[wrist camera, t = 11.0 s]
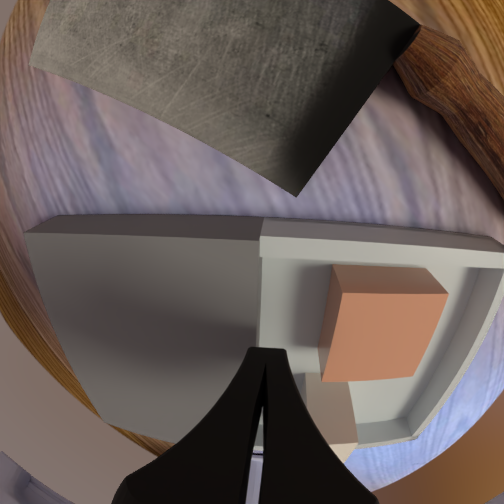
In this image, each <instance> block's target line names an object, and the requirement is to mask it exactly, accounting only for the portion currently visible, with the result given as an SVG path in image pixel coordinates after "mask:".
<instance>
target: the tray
mask: <svg viewBox="0 0 504 504" xmlns="http://www.w3.org/2000/svg"><path fill="white" fill-rule="evenodd" d="M260 257H262V286H261V313H260V339H259V347H266V348H284V349H285V350H286V351H287V356H288V361H289V365H290V368H291V371H292V374H293V377H294V380H295V383H296V385H297V388H298V390H299V393H300V394H301V390H302V385H303V381H304V377H305V373H320V365H319V357H318V349H317V347H318V343H319V338H320V333H321V328H322V323H323V317H324V312H325V306H326V301H327V295H328V289H329V282H330V276H331V269H332V264H342V265H363V266H385V267H409V268H426V269H427V270H428V271H429V272H430V273H431V274H432V275H433V276H434V277H435V278H436V280H437V281H438V282H439V283H440V284H441V285H442V286H443V287H444V288H445V290H446V291H447V292H448V293H449V295H448V298H447V301H446V304H445V306H444V309H443V312H442V314H441V317H440V319H439V322H438V324H437V327H436V329H435V331H434V334H433V336H432V338H431V341H430V343H429V345H428V347H427V349H426V351H425V353H424V356H423V358H422V360H421V362H420V364H419V366H418V368H417V369H416V371H415V373H414V375H413V376H412V377H403V378H394V379H382V380H369V381H349V382H348V384H349V389H350V394H351V399H352V405H353V410H354V416H355V422H356V428H357V434H358V441H359V443H358V444H357V446H356V447H355V449H361V448H370V447H377V446H384V445H390V444H396V443H401V442H406V441H411V440H415V439H416V438H417V437H418V436H419V435H420V434H421V433H422V432H423V430H424V429H425V428H426V427H427V426H428V424H429V423H430V422H431V421H432V419H433V418H434V417H435V415H436V414H437V413H438V412H439V410H440V409H441V408H442V406H443V405H444V403H445V402H446V401H447V399H448V398H449V396H450V395H451V394H452V392H453V391H454V389H455V388H456V386H457V385H458V383H459V382H460V380H461V378H462V377H463V375H464V374H465V372H466V370H467V369H468V367H469V365H470V364H471V362H472V360H473V358H474V357H475V355H476V353H477V351H478V349H479V348H480V346H481V344H482V342H483V340H484V338H485V336H486V334H487V332H488V330H489V328H490V326H491V323H492V321H493V319H494V317H495V315H496V312H497V310H498V308H499V305H500V303H501V300H502V298H503V295H504V245H503V244H501V243H500V242H498V241H497V240H495V239H494V238H492V237H488V236H480V235H473V234H465V233H456V232H448V231H439V230H430V229H421V228H411V227H401V226H390V225H378V224H367V223H354V222H340V221H326V220H310V219H293V218H273V217H264V221H263V225H262V229H261V234H260ZM253 450H260V451H263V407H262V412H261V417H260V422H259V426H258V431H257V435H256V440H255V444H254V449H253Z"/></svg>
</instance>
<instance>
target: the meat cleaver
mask: <svg viewBox="0 0 504 504" xmlns="http://www.w3.org/2000/svg"><path fill="white" fill-rule="evenodd" d="M392 65H393V66H394V67H395V69H396V71H397V72H398V74H399V76H400V78H401V80H402V81H403V83H404V85H405V87H406V89H407V91H408V93H409V94H410V96H411V97H412V98H414V99H416V100H418V101H419V102H421V103H423V104H425V105H426V106H428V107H430V108H431V109H433V110H435V111H436V112H438V113H440V114H441V115H442V116H443V118H444V119H445V120H446V122H447V123H448V125H449V126H450V127H451V129H452V130H453V132H454V133H455V135H456V136H457V138H458V139H459V141H460V142H461V143H462V144H463V145H464V147H465V148H466V149H467V150H468V151H469V153H470V154H471V155H472V156H473V158H474V159H475V160H476V161H477V163H478V164H479V165H480V167H481V168H482V169H483V171H484V172H485V173H486V175H487V176H488V177H489V179H490V180H491V182H492V183H493V185H494V186H495V188H496V189H497V190H498V192H499V193H500V195H501V197H502V198H503V200H504V96H503V95H502V94H501V93H500V92H499V91H498V90H497V89H496V88H495V87H494V86H493V85H492V84H491V83H490V82H489V81H488V80H487V79H486V78H485V77H484V76H482V75H481V74H480V73H479V71H478V69H477V68H476V66H475V64H474V63H473V61H472V59H471V58H470V56H469V54H468V53H467V51H466V50H465V48H464V47H463V45H462V44H461V42H460V41H459V40H457V39H455V38H453V37H450V36H448V35H446V34H444V33H441V32H439V31H436V30H434V29H431V28H429V27H426V26H424V25H420V24H419V23H418V22H416V21H415V20H414V19H413V18H411V17H410V16H409V15H408V14H406V13H405V12H404V11H402V10H401V9H400V8H398V7H397V6H396V5H394V4H393V3H391V2H390V1H388V0H50V3H49V5H48V7H47V10H46V12H45V15H44V18H43V20H42V23H41V26H40V29H39V31H38V34H37V37H36V41H35V44H34V47H33V51H32V54H31V58H30V62H29V66H32V67H35V68H38V69H41V70H44V71H47V72H50V73H52V74H55V75H58V76H61V77H63V78H66V79H69V80H71V81H74V82H76V83H79V84H81V85H84V86H86V87H89V88H91V89H93V90H96V91H98V92H101V93H103V94H105V95H108V96H110V97H112V98H114V99H117V100H119V101H121V102H123V103H125V104H128V105H130V106H132V107H134V108H136V109H138V110H141V111H143V112H145V113H147V114H149V115H151V116H153V117H155V118H157V119H159V120H161V121H163V122H165V123H167V124H169V125H171V126H173V127H175V128H177V129H179V130H181V131H183V132H185V133H187V134H189V135H190V136H192V137H194V138H196V139H198V140H200V141H202V142H203V143H205V144H207V145H209V146H211V147H213V148H214V149H216V150H218V151H220V152H222V153H223V154H225V155H227V156H229V157H230V158H232V159H234V160H236V161H237V162H239V163H241V164H243V165H244V166H246V167H248V168H249V169H251V170H253V171H254V172H256V173H258V174H259V175H261V176H263V177H264V178H266V179H268V180H269V181H271V182H273V183H274V184H276V185H277V186H279V187H281V188H282V189H284V190H285V191H287V192H289V193H290V194H292V195H293V196H295V197H297V196H298V195H299V193H300V192H301V190H302V189H303V188H304V186H305V185H306V184H307V182H308V181H309V179H310V178H311V177H312V175H313V174H314V173H315V171H316V170H317V168H318V167H319V166H320V164H321V163H322V162H323V160H324V159H325V157H326V156H327V155H328V153H329V152H330V151H331V149H332V148H333V146H334V145H335V144H336V142H337V141H338V139H339V138H340V137H341V135H342V134H343V133H344V131H345V130H346V128H347V127H348V126H349V124H350V123H351V122H352V120H353V119H354V117H355V116H356V115H357V113H358V112H359V110H360V109H361V108H362V106H363V105H364V104H365V102H366V101H367V99H368V98H369V97H370V95H371V94H372V92H373V91H374V90H375V88H376V87H377V85H378V84H379V83H380V81H381V80H382V79H383V77H384V76H385V74H386V73H387V72H388V70H389V69H390V67H391V66H392Z"/></svg>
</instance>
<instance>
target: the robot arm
mask: <svg viewBox="0 0 504 504" xmlns="http://www.w3.org/2000/svg"><path fill="white" fill-rule="evenodd" d="M262 407H263V456H261V455H252V453H253V449H254V444H255V440H256V435H257V431H258V426H259V422H260V417H261V412H262ZM0 504H74V503H73V502H71V501H69V500H67V499H66V498H64V497H62V496H61V495H59V494H58V493H56V492H54V491H53V490H51V489H50V488H48V487H47V486H46V485H44V484H43V483H41V482H40V481H38V480H37V479H36V478H34V477H33V476H31V475H30V474H29V473H28V472H27V471H26V470H24V469H23V468H22V467H20V466H19V465H18V464H17V463H16V462H14V461H13V460H12V459H11V458H10V457H8V456H7V455H6V454H5V453H4V452H3V451H1V452H0ZM111 504H379V502H378V499H377V498H376V496H375V495H373V494H372V493H371V492H370V491H369V490H368V489H367V488H366V487H365V486H364V485H363V484H362V483H360V482H359V481H358V480H357V478H356V477H355V476H354V475H353V474H352V473H351V472H350V471H349V470H348V469H347V468H346V466H345V465H344V464H343V463H342V461H341V460H340V459H339V458H338V456H337V455H336V454H335V453H334V451H333V450H332V449H331V447H330V446H329V445H328V443H327V442H326V440H325V439H324V437H323V436H322V434H321V433H320V431H319V429H318V428H317V426H316V424H315V423H314V421H313V419H312V417H311V416H310V414H309V412H308V410H307V408H306V406H305V404H304V402H303V399H302V397H301V395H300V393H299V390H298V388H297V385H296V383H295V380H294V377H293V374H292V371H291V368H290V365H289V361H288V356H287V351H286V350H285V349H284V348H266V347H252V346H251V347H249V348H248V350H247V352H246V355H245V357H244V359H243V362H242V364H241V365H240V367H239V369H238V371H237V373H236V374H235V376H234V378H233V379H232V381H231V382H230V384H229V385H228V387H227V388H226V390H225V391H224V393H223V394H222V395H221V397H220V398H219V399H218V401H217V402H216V403H215V405H214V406H213V407H212V408H211V410H210V411H209V412H208V413H207V414H206V415H205V416H204V417H203V419H202V420H201V421H200V422H199V423H198V424H197V425H196V426H195V427H194V428H193V429H192V430H191V431H190V432H189V433H188V434H186V435H185V436H184V437H183V438H182V439H181V440H180V441H179V442H177V443H176V444H175V445H174V446H172V447H171V448H170V449H168V450H167V451H166V452H164V453H163V454H162V455H160V456H159V457H158V458H156V459H155V460H153V461H152V462H150V463H149V464H147V465H146V466H144V467H142V468H140V469H138V470H137V471H135V472H133V473H132V474H130V475H128V476H126V478H125V479H124V480H123V481H122V483H121V484H120V486H119V488H118V489H117V491H116V494H115V495H114V498H113V500H112V503H111ZM485 504H504V492H503V493H501V494H499V495H498V496H496V497H495V498H493V499H491V500H490V501H488V502H486V503H485Z"/></svg>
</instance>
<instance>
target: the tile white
mask: <svg viewBox="0 0 504 504" xmlns="http://www.w3.org/2000/svg"><path fill="white" fill-rule="evenodd" d="M300 395H301V397H302V399H303V402H304V404H305V406H306V408H307V410H308V412H309V414H310V416H311V417H312V419H313V421H314V423H315V424H316V426H317V428H318V429H319V431H320V433H321V434H322V436H323V437H324V439H325V440H326V442H327V443H328V445H329V446H330V447H331V449H332V450H333V451H334V453H335V454H336V455H337V456H338V458H339V459H340V460H341V461H342V463H344V462H345V461H346V460H347V458H348V457H349V455H350V454H351V453H352V451H353V450H354V449H355V447H356V446H357V444H358V443H359V441H358V434H357V428H356V422H355V416H354V410H353V405H352V399H351V394H350V389H349V384H348V382H321V374H320V373H305V377H304V381H303V385H302V390H301V394H300Z"/></svg>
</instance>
